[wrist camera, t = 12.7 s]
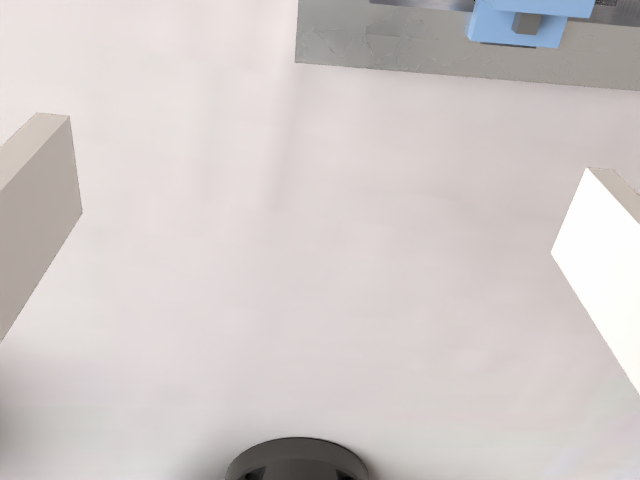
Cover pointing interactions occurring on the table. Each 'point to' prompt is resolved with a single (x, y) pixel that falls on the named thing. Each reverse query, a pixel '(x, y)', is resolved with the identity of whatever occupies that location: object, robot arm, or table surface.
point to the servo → (525, 20)
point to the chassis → (468, 42)
